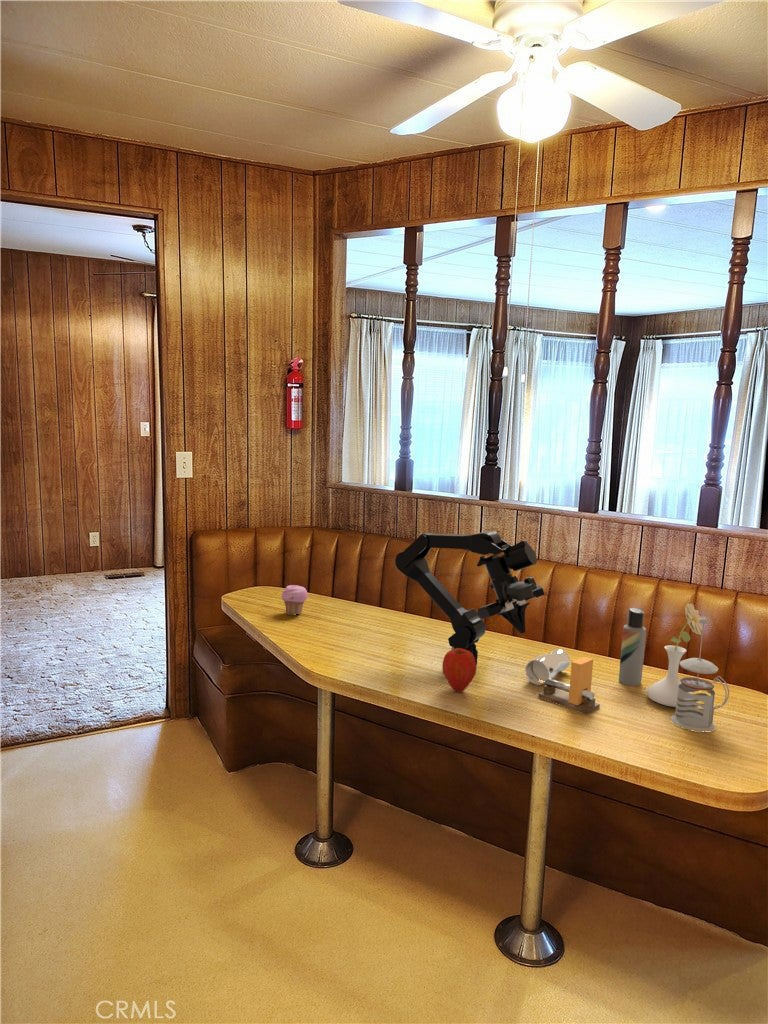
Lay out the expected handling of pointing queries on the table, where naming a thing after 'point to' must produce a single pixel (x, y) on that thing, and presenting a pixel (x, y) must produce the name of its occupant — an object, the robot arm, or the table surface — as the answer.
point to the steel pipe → (566, 687)
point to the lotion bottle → (632, 648)
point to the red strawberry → (459, 668)
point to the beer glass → (547, 666)
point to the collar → (580, 679)
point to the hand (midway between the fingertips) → (523, 633)
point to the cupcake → (294, 599)
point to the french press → (697, 695)
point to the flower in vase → (675, 663)
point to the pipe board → (563, 698)
